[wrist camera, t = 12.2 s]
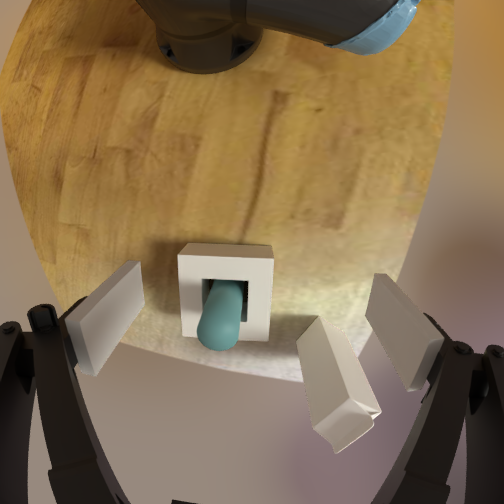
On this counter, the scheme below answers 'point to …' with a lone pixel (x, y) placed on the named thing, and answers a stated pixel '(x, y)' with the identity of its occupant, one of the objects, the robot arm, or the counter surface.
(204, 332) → the peg
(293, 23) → the robot arm
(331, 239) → the counter surface
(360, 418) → the milk
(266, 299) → the socket
